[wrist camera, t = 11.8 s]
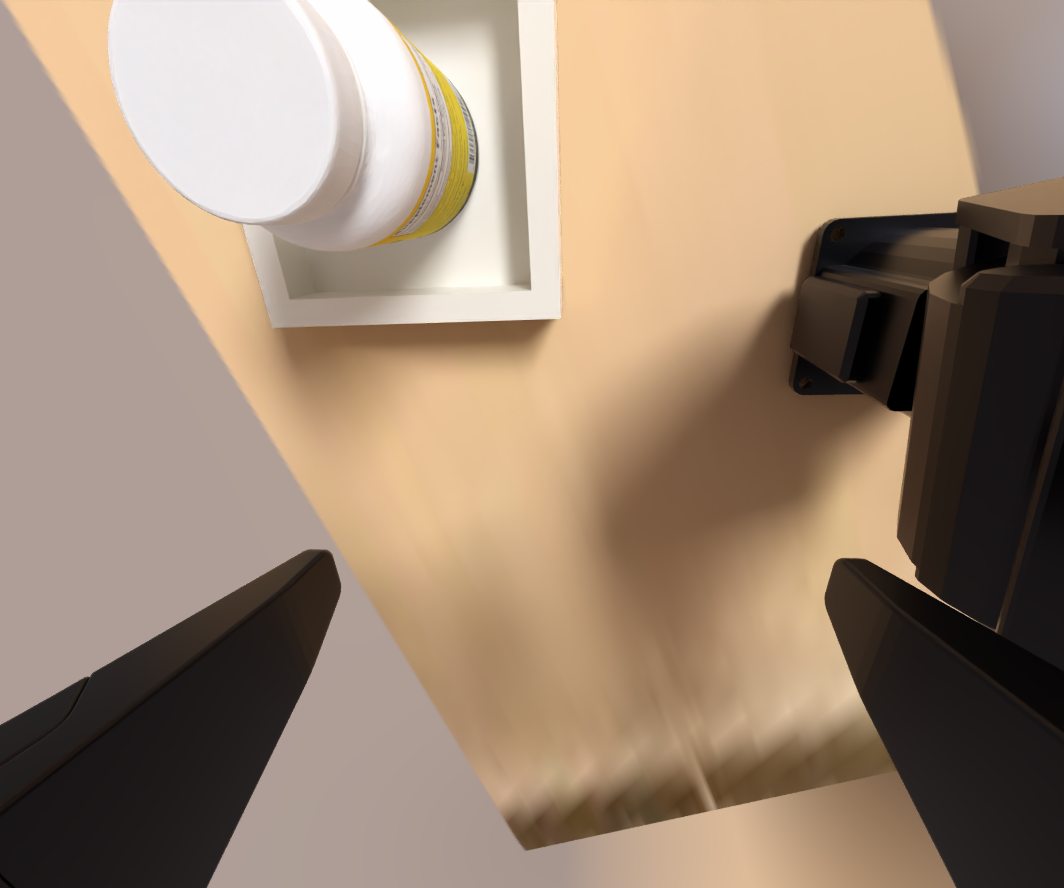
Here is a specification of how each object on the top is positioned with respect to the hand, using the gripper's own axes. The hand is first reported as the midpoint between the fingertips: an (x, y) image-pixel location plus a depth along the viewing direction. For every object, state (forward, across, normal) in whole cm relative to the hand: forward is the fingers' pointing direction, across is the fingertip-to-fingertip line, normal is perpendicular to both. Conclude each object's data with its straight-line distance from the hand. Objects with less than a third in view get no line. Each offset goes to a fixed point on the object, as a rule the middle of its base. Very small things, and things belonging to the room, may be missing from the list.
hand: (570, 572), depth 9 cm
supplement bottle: (+13, +6, -8) cm, 16 cm away
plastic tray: (+13, +6, -8) cm, 16 cm away
